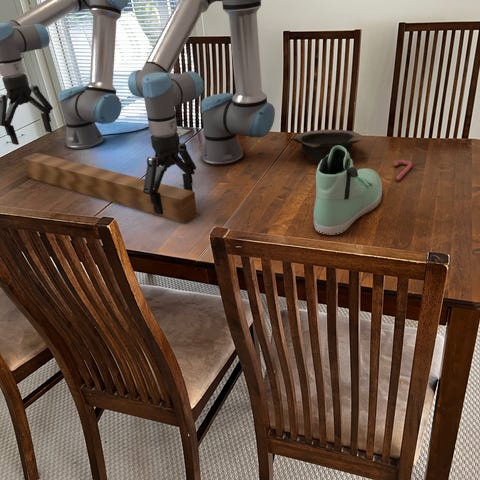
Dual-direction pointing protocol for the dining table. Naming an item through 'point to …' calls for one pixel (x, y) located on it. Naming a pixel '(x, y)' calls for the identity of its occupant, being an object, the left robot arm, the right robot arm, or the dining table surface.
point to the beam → (110, 186)
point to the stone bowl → (325, 142)
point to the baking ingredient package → (181, 131)
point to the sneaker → (343, 192)
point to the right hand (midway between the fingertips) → (174, 203)
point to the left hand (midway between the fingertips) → (32, 137)
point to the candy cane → (404, 169)
